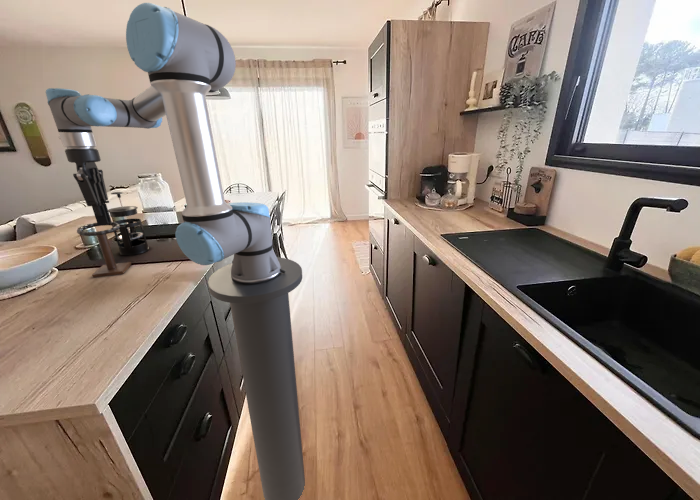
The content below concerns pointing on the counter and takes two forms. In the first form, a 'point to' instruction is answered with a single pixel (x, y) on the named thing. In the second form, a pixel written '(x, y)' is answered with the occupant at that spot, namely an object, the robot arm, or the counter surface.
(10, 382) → the counter surface
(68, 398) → the counter surface
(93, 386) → the counter surface
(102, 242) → the holder
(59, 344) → the counter surface
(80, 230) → the ring
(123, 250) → the french press
